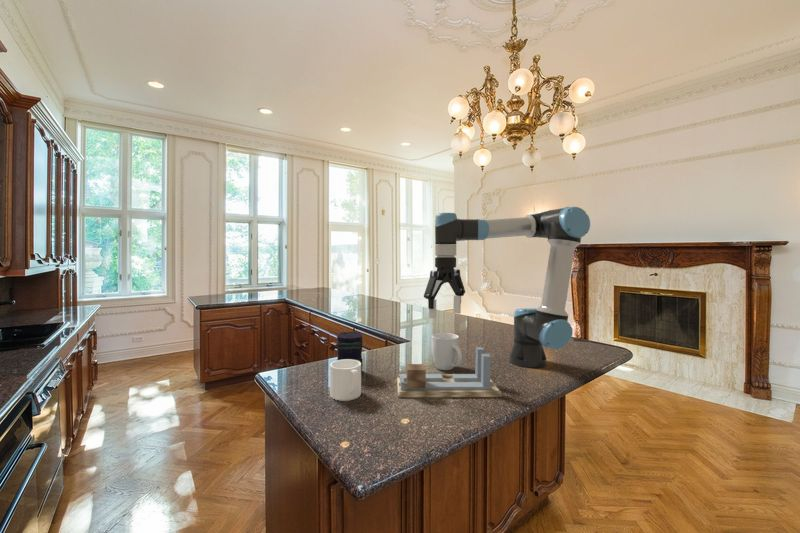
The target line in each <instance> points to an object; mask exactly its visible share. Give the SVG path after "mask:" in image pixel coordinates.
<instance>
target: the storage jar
mask: <svg viewBox="0 0 800 533" xmlns="http://www.w3.org/2000/svg"><path fill="white" fill-rule="evenodd" d="M363 344H364V343H363V333H361V332H357V331H347V332H346V331H345V332H344V331H343V332H339V333H338V334H336V350H337V359H336V361H337V360H342V359H352V360H357V361H360V362H361V375H362V374H363V364H364V363H363V358H362V354H363V352H362V350H363Z"/></svg>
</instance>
